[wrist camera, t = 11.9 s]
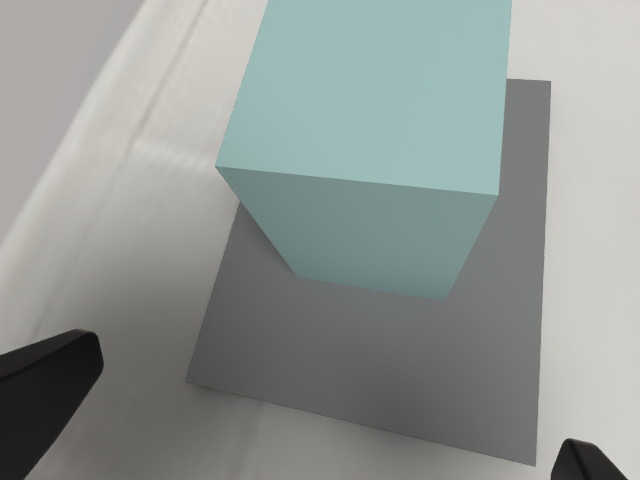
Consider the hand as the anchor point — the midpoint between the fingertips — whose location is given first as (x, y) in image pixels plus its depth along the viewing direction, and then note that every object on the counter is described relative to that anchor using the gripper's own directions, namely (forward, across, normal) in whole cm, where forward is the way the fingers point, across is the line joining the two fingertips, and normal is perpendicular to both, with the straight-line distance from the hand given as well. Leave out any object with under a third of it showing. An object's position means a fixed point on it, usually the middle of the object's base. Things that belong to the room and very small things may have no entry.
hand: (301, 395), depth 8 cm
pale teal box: (+11, 0, +1) cm, 11 cm away
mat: (+12, 0, +1) cm, 12 cm away
